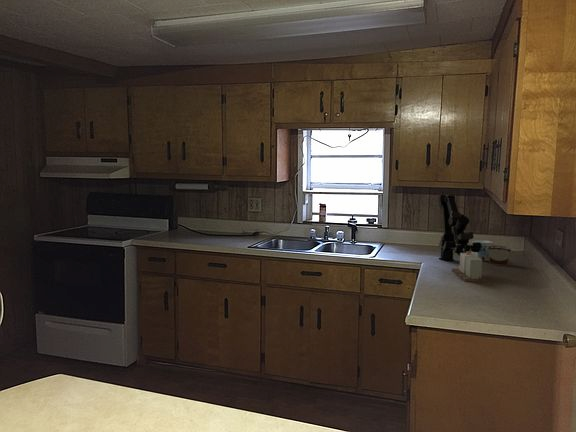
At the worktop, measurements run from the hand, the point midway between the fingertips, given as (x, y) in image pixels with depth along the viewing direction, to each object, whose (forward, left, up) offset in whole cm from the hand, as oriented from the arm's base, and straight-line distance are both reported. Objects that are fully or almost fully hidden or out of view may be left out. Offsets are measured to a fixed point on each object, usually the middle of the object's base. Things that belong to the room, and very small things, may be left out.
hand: (465, 260), depth 249 cm
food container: (-8, +36, -7) cm, 38 cm away
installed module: (+11, -7, -5) cm, 14 cm away
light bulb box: (-20, +36, -7) cm, 42 cm away
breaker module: (+3, -2, -5) cm, 6 cm away
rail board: (+5, -3, -7) cm, 9 cm away
